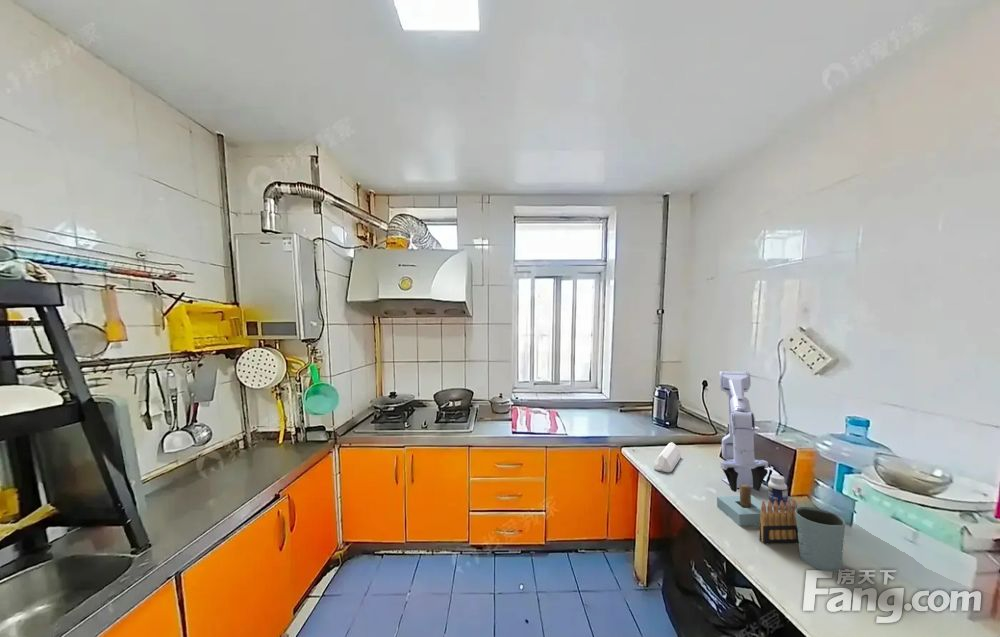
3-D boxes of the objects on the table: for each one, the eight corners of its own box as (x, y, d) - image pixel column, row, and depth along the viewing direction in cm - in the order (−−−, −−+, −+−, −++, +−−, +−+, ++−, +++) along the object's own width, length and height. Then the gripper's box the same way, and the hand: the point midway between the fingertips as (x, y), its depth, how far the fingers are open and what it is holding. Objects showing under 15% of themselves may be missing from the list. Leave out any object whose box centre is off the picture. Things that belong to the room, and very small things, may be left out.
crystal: (674, 466, 157) (685, 449, 177) (658, 455, 161) (671, 439, 180) (665, 480, 159) (677, 461, 179) (650, 468, 163) (663, 451, 182)
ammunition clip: (763, 544, 108) (762, 502, 109) (759, 540, 110) (757, 499, 110) (801, 543, 108) (800, 501, 108) (796, 539, 110) (795, 498, 110)
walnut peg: (747, 512, 126) (746, 483, 126) (753, 517, 123) (752, 487, 123) (738, 513, 126) (737, 484, 126) (744, 517, 123) (743, 488, 123)
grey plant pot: (788, 556, 103) (786, 511, 103) (809, 545, 107) (807, 502, 107) (834, 578, 94) (832, 529, 94) (855, 566, 98) (853, 519, 98)
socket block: (751, 505, 130) (751, 495, 130) (777, 524, 118) (777, 513, 118) (717, 506, 130) (716, 496, 130) (739, 525, 118) (739, 514, 118)
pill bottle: (764, 503, 132) (763, 475, 132) (774, 500, 134) (773, 472, 134) (781, 510, 127) (780, 481, 127) (791, 506, 129) (790, 477, 129)
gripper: (729, 453, 120) (730, 496, 120) (774, 451, 120) (776, 494, 120) (716, 446, 127) (717, 486, 127) (759, 444, 128) (760, 485, 127)
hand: (745, 490), depth 124 cm, fingers open, 7 cm apart
